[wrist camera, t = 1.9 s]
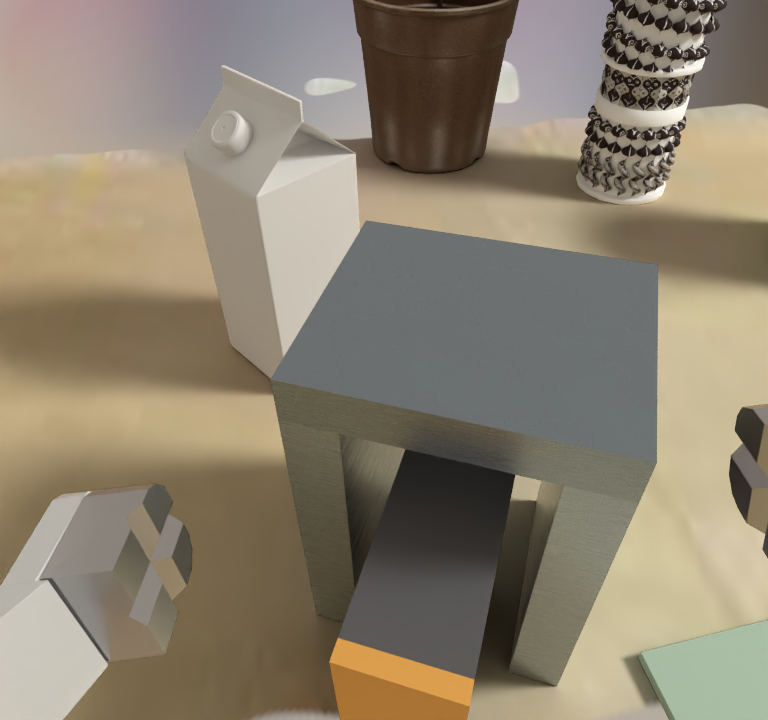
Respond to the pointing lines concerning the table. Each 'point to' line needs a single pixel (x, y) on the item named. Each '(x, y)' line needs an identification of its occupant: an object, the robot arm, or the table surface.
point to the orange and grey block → (423, 594)
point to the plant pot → (432, 77)
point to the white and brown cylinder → (643, 96)
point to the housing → (476, 406)
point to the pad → (713, 675)
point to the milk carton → (270, 212)
